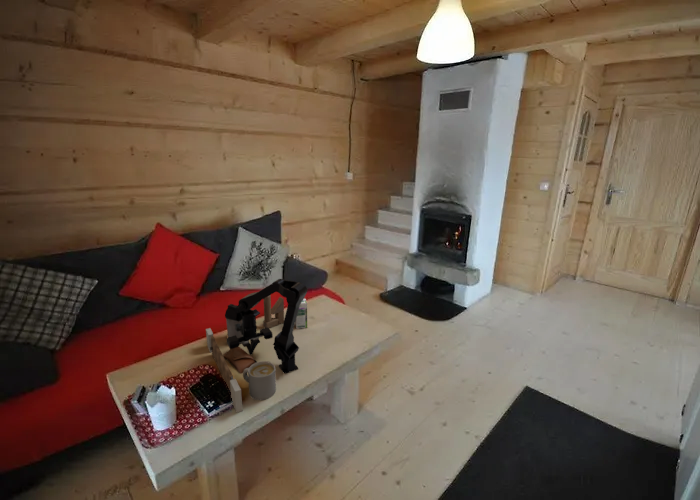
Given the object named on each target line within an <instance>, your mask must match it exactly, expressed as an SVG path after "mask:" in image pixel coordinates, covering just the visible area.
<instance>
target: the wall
mask: <svg viewBox="0 0 700 500" xmlns="http://www.w3.org/2000/svg"><path fill="white" fill-rule="evenodd" d="M205 334H206V335H205V336H206V344H207V346H206V347H207V349H208V351H209V353H210V354H212V350H210V347H211V336H214V333H213V331H212V329H211V327H209V328H205ZM230 389H231V395H230V399H231V398H232V401H233V403H232V406H233V408H234V410H235V413H237V414H238V413H240V412H243V401H242V399H243V398H242V388H241V387H240V385H239V383H238V381H237V379H236V378H234V375H233V376H232V377H231V380H230ZM232 401H231V402H232Z"/></svg>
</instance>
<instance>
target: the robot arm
mask: <svg viewBox="0 0 700 500" xmlns="http://www.w3.org/2000/svg"><path fill="white" fill-rule="evenodd" d="M274 293H279V294H280V296H281V297H282V298H285V299H286V303H287V307H286V311H285V314H284V323H282V328H281V331H280V332H279V333H278V334H276V335H275V336H274V340H273V341H274V342H273V344H272V346H273V350H274V351H275V354H276V356H277V359H278V360H280V361H281V364H280V363H279V364H278V367H279V369H280V370H281V372H282V373H283V374H285V375H286V374H288V373H291V372H294V371H297V370H299V367H298V366H297V364H296V353H297V352H299V349H300V347H299V346H298V344H297V343H296V342H295V337H294V328H295V326H296V324H295V321H296V317H297V314H298V310H299V306H300V304H301V302H302V301H303V299H305V298H306V295H307V293H308V287H307V286H306V284H305V283H303V282H298V281H295V280H286V279H284V278H278V279H276V280H274V281H273V282H272V283H271V284H269V285H267V286H265V287H264V288H262V289H260V290H258V291H256V292H251V293H248V294H247V295H245V296H244V297H242V298H240V299H239V300H238V305H236V304H232V303H229V304H228V305H227V309H226V310H225V313H224V318H225V320H226V319H229V320H233V321H238V322H239V321H241V320H242V324H241V325H240V324H239V323H238V324H235V329H236V331H237V332H238V331H240V332H241V335H243V337H240V338H237V337H236V335H235V336H231V337H228V336H227V338H226V345H227V347H228V349H229V350H230V349H233V348H237V347H238V346H239V347H240V344H239V342H241V343H242V344H241V345H242V347H243V348H246V350H247V351H248V354H249V355H250V356H252V355H253V353H254V352H255V350H256V348H257V347H258V345H259V344H260V343H261V340H260V338H262V337H263V339H264V340H270V339H273V334H274V333H273V332H272V330H271V328H268V327H267V328H264V327H263V328H260V329H259V332H257V329H258V326H257V316H259V315H260V314H261V312H260V311H259V310H257V308H255V309H253V308H254V307H256V306H257V305H258V304H259V303H261V301H262V300H264V298H266V297H268V296H269V295H271V296H272V295H273V294H274Z"/></svg>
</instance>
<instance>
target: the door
mask: <svg viewBox="0 0 700 500" xmlns="http://www.w3.org/2000/svg"><path fill="white" fill-rule="evenodd" d="M214 336H215V335H213V336H211V347H210V350H212V352H211V355H212V356H213V359H214V362H215V364H216V366H217V368H218V370H219V373H220V375H221V378H222V379H224V380H223V382H224V381H225V382H226V384H227V386H228V388H229V390H230V392H231V389H230V380H231V377H232V376H233V377H234V375H233V373H232V370H231V369H230V367H229V365H228V362H227V360H226V359H225V358H224V357H223V355H224V354H223V353H222V351H221V349H220V346H219V345H218V342H217V340H216V339H215V337H214ZM225 382H224V383H225ZM226 384H225V385H226ZM227 386H226V387H227Z"/></svg>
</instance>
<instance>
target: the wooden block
mask: <svg viewBox="0 0 700 500" xmlns="http://www.w3.org/2000/svg"><path fill="white" fill-rule="evenodd" d="M271 296H272V294H271V295H269V296H268V297H266V298H264V299H263V316H264V317H263V318H264V319H263V321H262V327H263V328H267V327H268V328H269V329H272V328H274V327H277V326H279V325H283V323H284V319H285V299H284V297H282V296H279V297H278V299H277V300H276V301H275V303H274V304H273V305H272V299H271V298H272V297H271ZM272 315H274V317H272Z"/></svg>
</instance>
